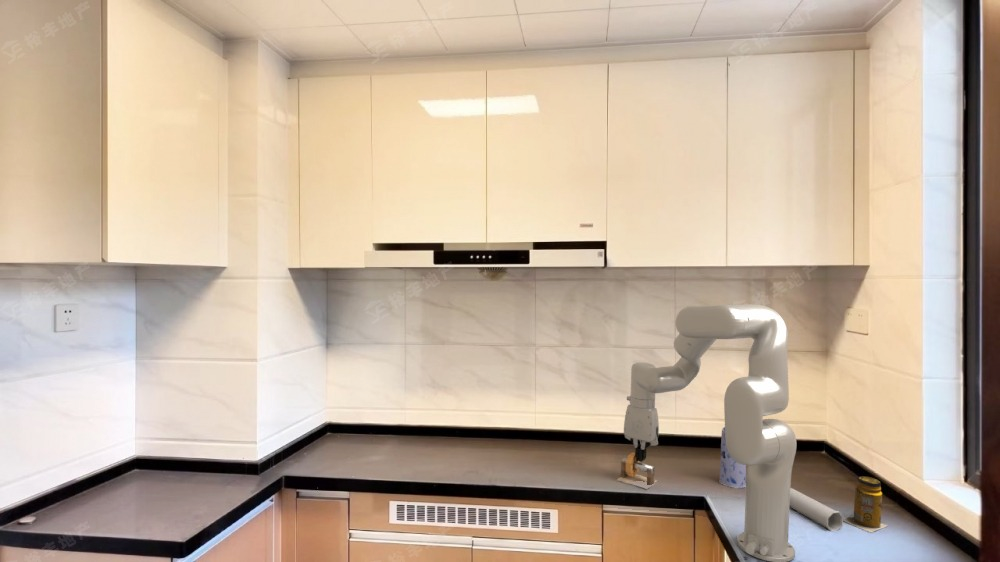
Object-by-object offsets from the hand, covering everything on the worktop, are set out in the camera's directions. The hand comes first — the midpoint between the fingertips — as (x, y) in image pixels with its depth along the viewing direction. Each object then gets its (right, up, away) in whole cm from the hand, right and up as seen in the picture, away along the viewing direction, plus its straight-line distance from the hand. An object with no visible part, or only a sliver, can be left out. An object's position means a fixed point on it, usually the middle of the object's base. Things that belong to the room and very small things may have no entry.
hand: (640, 460), depth 166 cm
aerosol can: (+30, -8, +1) cm, 31 cm away
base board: (-1, -7, +1) cm, 7 cm away
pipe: (-1, -4, +1) cm, 4 cm away
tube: (+41, -9, -16) cm, 44 cm away
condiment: (+54, -9, -23) cm, 60 cm away
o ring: (-2, -5, +2) cm, 6 cm away
